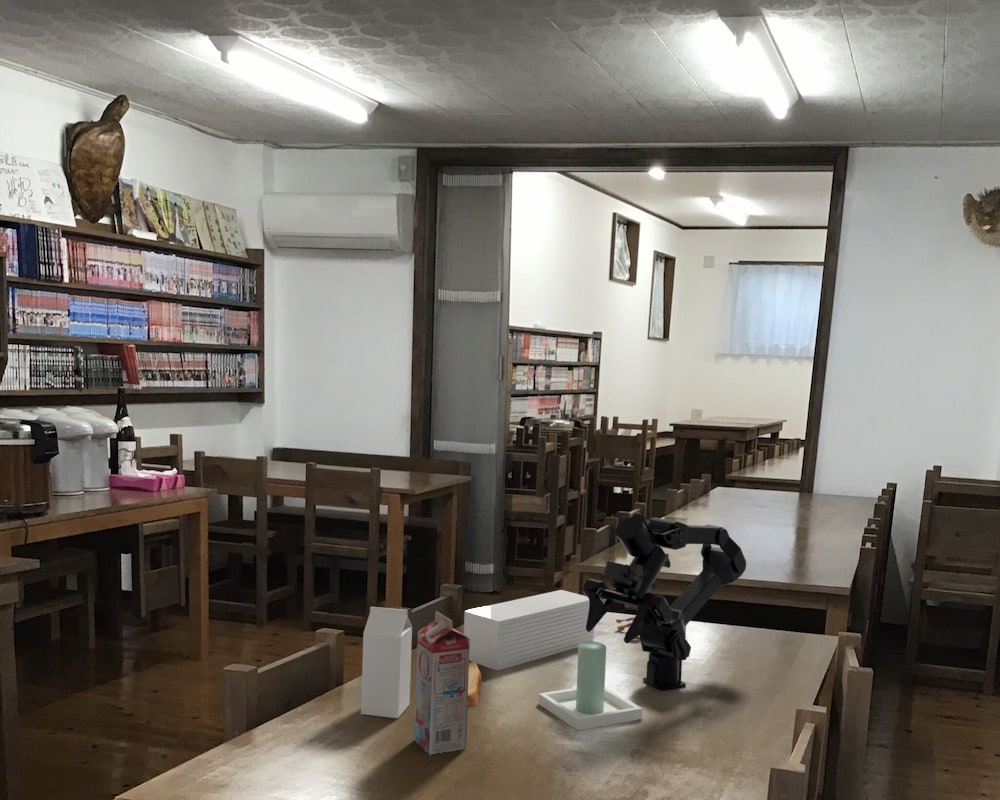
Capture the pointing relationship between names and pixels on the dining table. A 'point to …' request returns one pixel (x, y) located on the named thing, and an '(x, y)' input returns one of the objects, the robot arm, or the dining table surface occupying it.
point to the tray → (613, 713)
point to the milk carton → (386, 663)
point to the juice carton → (441, 687)
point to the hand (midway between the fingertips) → (605, 636)
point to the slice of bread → (473, 684)
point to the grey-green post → (591, 678)
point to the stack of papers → (527, 628)
